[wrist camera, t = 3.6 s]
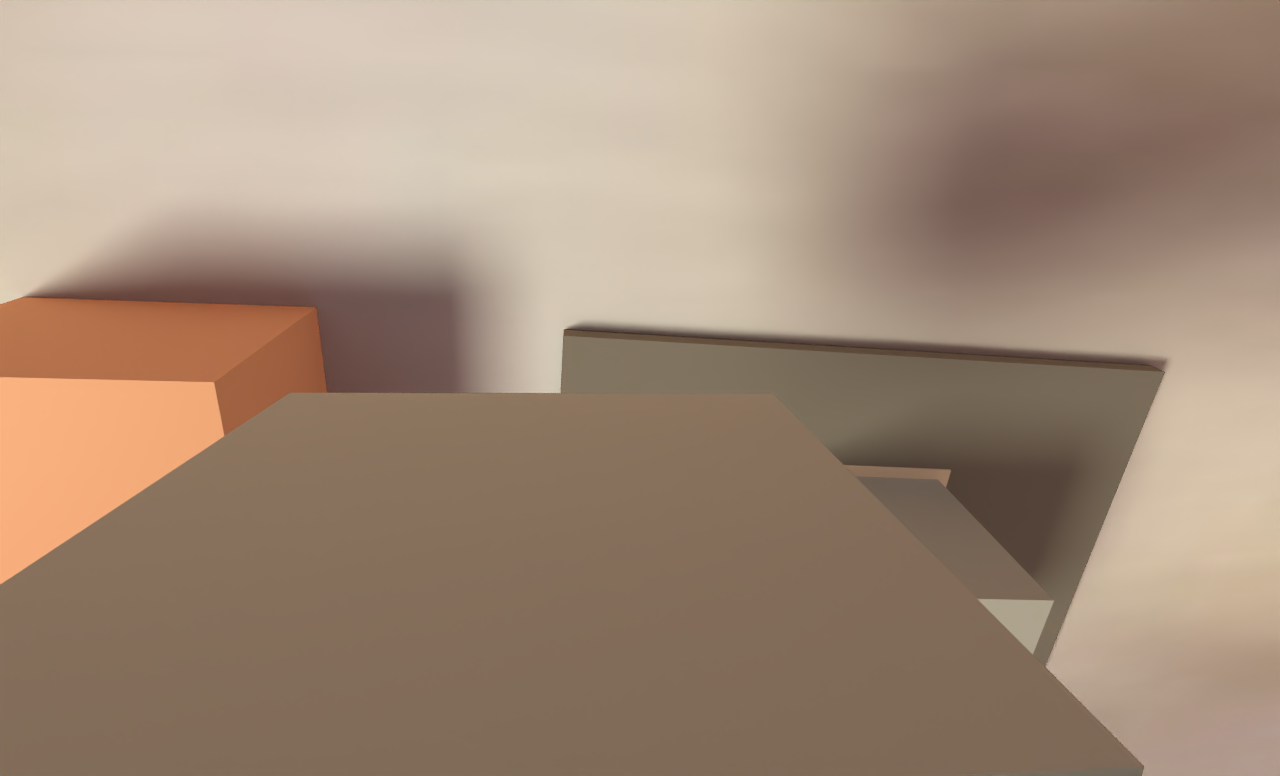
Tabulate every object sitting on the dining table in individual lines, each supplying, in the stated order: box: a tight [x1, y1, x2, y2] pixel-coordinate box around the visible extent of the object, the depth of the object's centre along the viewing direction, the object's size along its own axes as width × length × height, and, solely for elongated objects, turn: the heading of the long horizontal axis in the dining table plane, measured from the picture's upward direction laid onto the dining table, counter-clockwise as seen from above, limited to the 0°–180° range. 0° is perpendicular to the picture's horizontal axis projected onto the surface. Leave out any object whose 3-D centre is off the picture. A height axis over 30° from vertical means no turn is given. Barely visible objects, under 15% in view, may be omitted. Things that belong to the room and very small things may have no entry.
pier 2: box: [855, 476, 1054, 654], centre depth 17 cm, size 5×5×5 cm
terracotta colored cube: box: [0, 297, 327, 584], centre depth 15 cm, size 6×6×5 cm
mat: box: [561, 330, 1165, 666], centre depth 21 cm, size 20×16×1 cm
